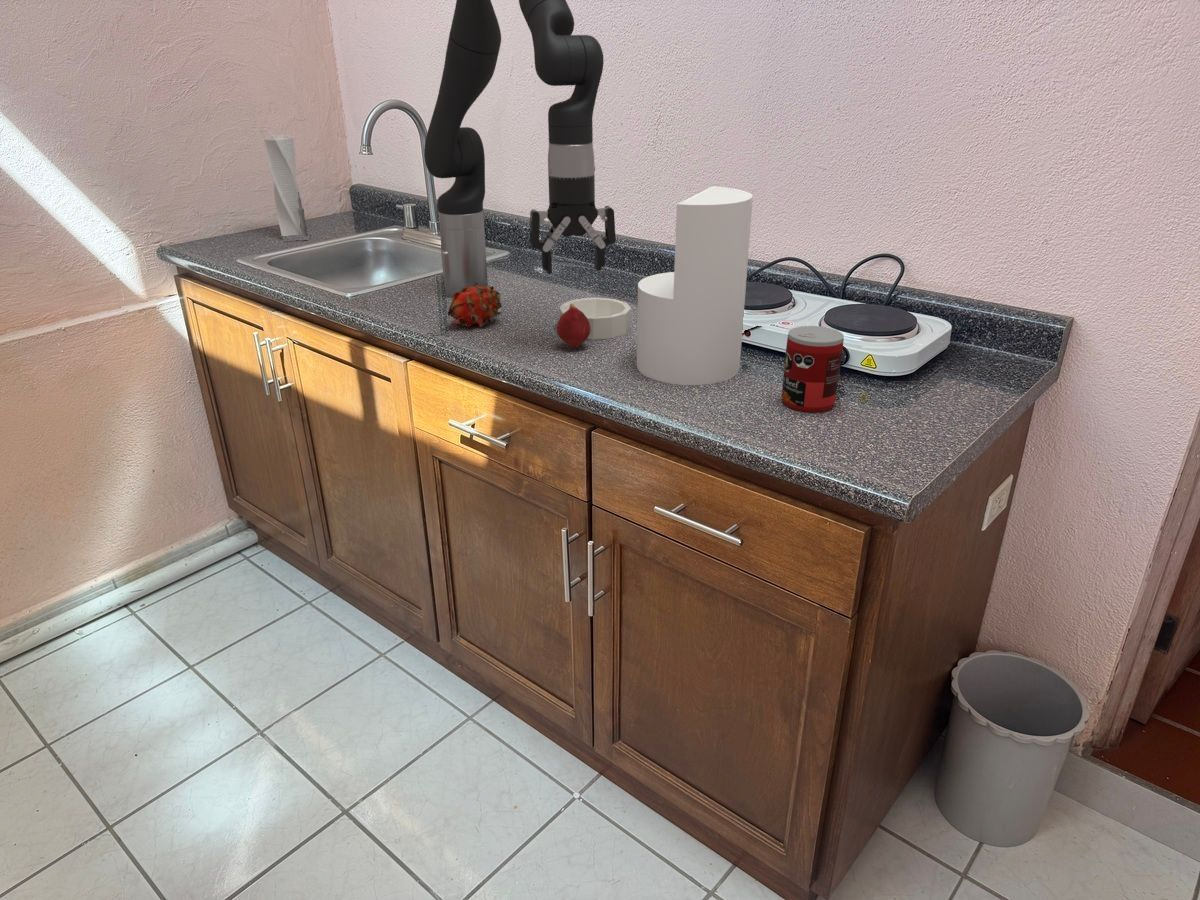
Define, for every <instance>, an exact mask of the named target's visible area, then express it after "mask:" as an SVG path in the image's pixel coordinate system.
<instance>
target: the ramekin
mask: <svg viewBox="0 0 1200 900" xmlns="http://www.w3.org/2000/svg"><path fill="white" fill-rule="evenodd" d="M570 304H574V306H575V307H576V308H577V309H578V310H580V311H581V312H583V313H584V315H585V316H586V317H587V319H588V321H589V324H590V334H589V336H588V338H587V339H586V340H593V341H597V340H607V339H611V340H612V339H615V338H618V337H622V336H624V335H627V334H628V333H629V331H630V330H631V329H632V327H631V326H632V325H631V324H632V307H631V306H630V305H629V304H628V303H627V302H625V301H622V300H618V299H615V298H604V297H585V298H577V299H573V300H568V301H565V302H564V303H563V304H561V305H560V306H559V318H560V317H561V316H562V315H563V314H564V313H565V312H566V311H567V310H569V307H570Z"/></svg>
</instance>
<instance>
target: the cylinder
mask: <svg viewBox="0 0 1200 900" xmlns="http://www.w3.org/2000/svg"><path fill="white" fill-rule="evenodd" d="M753 198H754V196H753V194H752V193H750V192H748V191H746V190H742V189H738V188H732V187H727V186H725V187H724V186H715V185H714V186H710V187H708V188H706V189H705V190H702V191H700V192H698V193H697V194H695V195H692V196H690V197H689V198H687V199H685V200H682V201H680V202H679V203H676V216H675V217H676V219H675V244H674V245H675V246H674V248H675V250H674V271H667V272H663V273H662V272H661V273H656V274H653V275H648V276H645V277H644V278H641V279H640V280H639V282H637V316H636V317H637V318H636V319H637V326H636V369H637V370H638V371H639V373H640V374H642V375H643V376H645V377H647V378H649V379H651V380H654V381H656V382H657V381H658V382H661V383H665V384H670V385H680V386H703V385H713V384H718V383H721V382H725V381H728V380H730V379H732V378H734V377H735V376H736V375H738V373H739V371H740V369H741V367H740V366H741V354H742V343H743V342H742V341H743V334H742V330H743V317H744V309H745V301H746V291H747V290H746V288H747V275H748V265H749V264H748V263H749V250H750V249H749V248H750V240H751V239H750V237H751V223H752V211H753V210H752V209H753V200H754V199H753Z"/></svg>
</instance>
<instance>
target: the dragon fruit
mask: <svg viewBox="0 0 1200 900" xmlns="http://www.w3.org/2000/svg"><path fill="white" fill-rule="evenodd" d="M475 284H476V287H470V286H469V287H467V286H464V287H463V288H462V291H459V292H457V293H455V294H454V295H453V297H452V301H451V304H450V306H449V309H448V311H447V316H448V317H451V318H452V319H454V320H453V323H454V324H455V325H456V327H466V326H465V325H467V327H471V326H472V325H475V324H478V326H479V328H480V327H481V328H483V326H485V325H486V324H489V323H490V322H491V319H494V318H497V317H498V316H499V315H501V314H502V312H503V311H499V310H500V309H501V308H502V303H501V299H502V298H501V293H500V292H498V291H497V290H496V289H494V288H495V287H494V286H493V285H492V286H491V285H488V286H486V287H482V286H481V285H479V283H475Z"/></svg>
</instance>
